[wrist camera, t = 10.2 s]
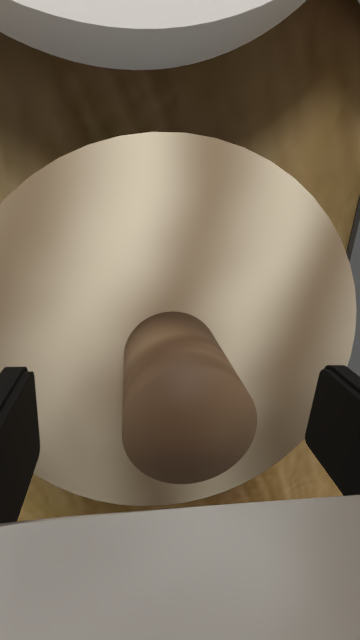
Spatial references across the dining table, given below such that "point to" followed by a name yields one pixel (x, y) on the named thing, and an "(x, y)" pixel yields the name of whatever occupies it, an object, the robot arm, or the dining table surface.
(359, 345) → the mat
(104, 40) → the ring with crossbar
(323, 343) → the lid
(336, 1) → the dining table surface
